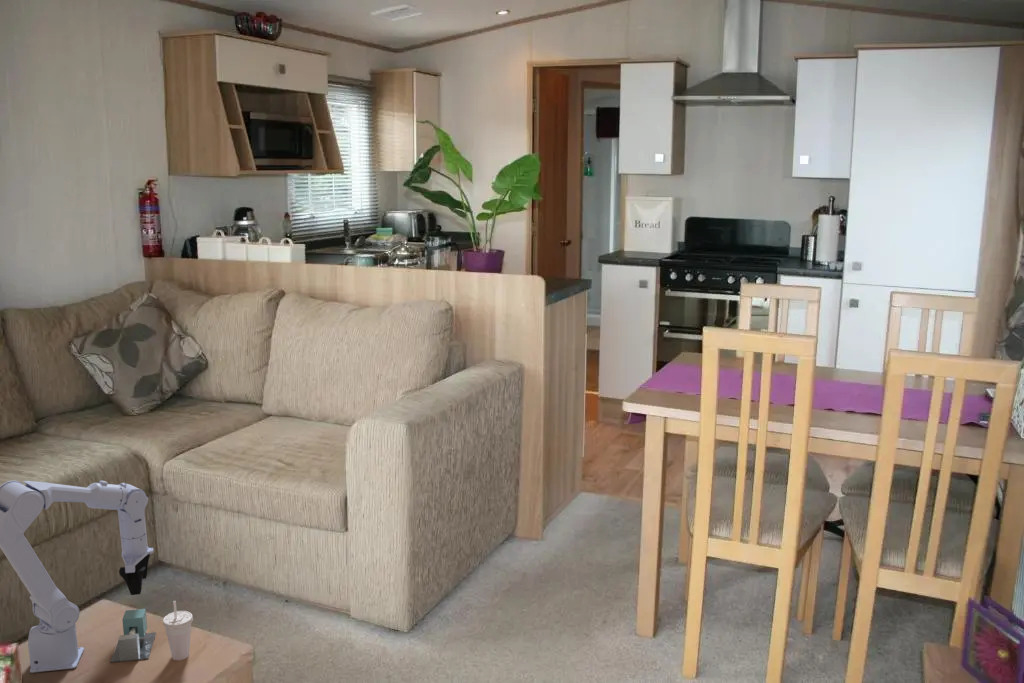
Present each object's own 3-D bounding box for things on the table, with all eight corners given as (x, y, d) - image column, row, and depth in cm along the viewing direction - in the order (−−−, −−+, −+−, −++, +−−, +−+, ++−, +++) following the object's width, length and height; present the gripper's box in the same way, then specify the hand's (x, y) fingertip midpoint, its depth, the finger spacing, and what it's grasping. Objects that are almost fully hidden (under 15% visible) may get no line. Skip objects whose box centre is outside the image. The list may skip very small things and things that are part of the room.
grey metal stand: (110, 663, 201) (108, 641, 200) (120, 636, 212) (118, 615, 210) (148, 659, 203) (146, 637, 202) (156, 633, 213) (154, 612, 212)
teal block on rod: (124, 638, 207) (122, 619, 206) (127, 629, 211) (125, 610, 210) (144, 636, 208) (142, 617, 207) (147, 627, 212) (145, 608, 211)
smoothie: (159, 658, 203) (155, 603, 200) (181, 645, 208) (177, 590, 205) (179, 666, 200) (175, 610, 197) (201, 652, 206) (197, 597, 202)
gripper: (145, 546, 205) (151, 599, 208) (156, 519, 219) (161, 570, 222) (113, 549, 203) (119, 602, 207) (125, 522, 217) (131, 572, 220)
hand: (138, 586), depth 214 cm, fingers open, 7 cm apart
